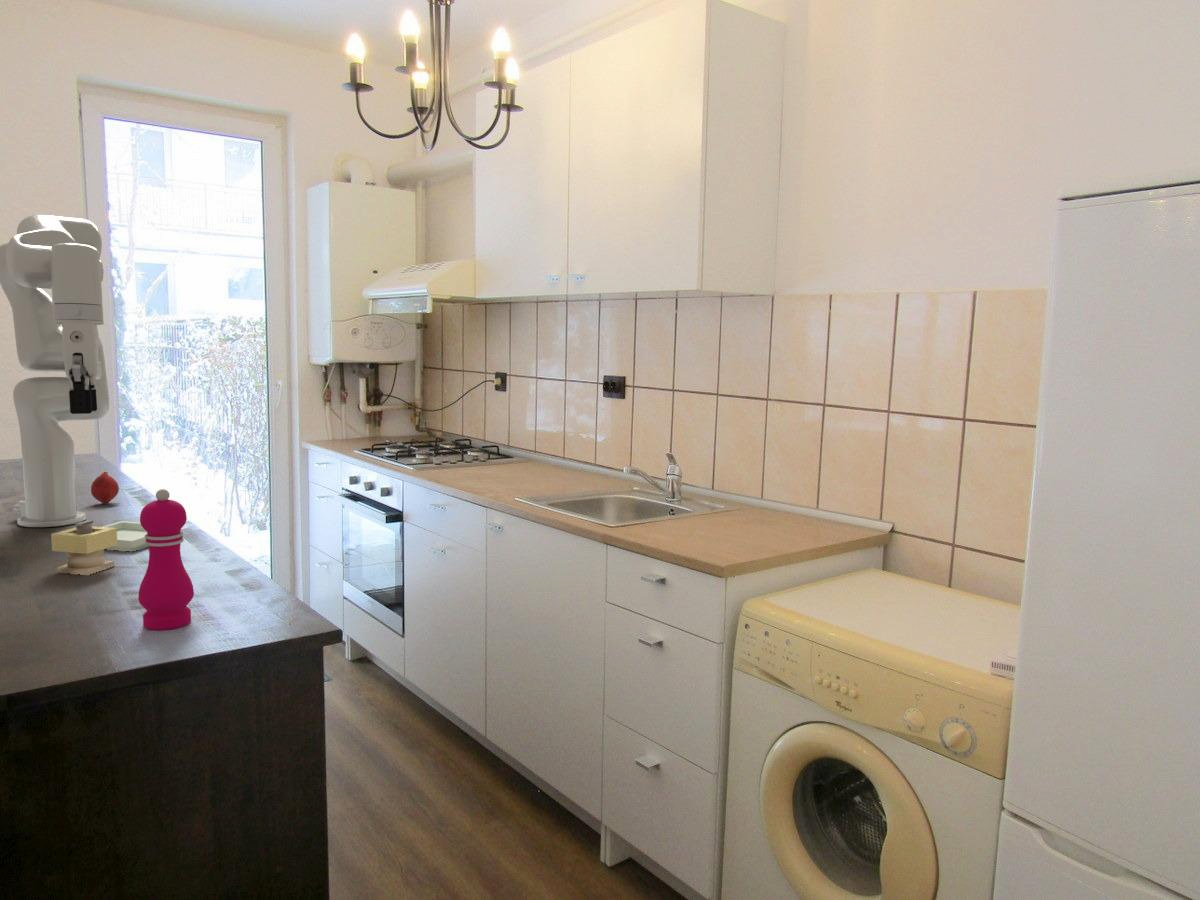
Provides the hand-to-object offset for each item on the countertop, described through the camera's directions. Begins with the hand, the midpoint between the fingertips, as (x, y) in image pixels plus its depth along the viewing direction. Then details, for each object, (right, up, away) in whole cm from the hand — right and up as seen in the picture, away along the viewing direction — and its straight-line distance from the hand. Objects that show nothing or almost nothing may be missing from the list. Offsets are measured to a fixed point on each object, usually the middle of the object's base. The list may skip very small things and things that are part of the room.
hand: (84, 412), depth 150 cm
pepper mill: (+29, -32, -27) cm, 51 cm away
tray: (-3, -25, +19) cm, 32 cm away
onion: (-28, -20, +54) cm, 64 cm away
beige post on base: (+1, -28, -1) cm, 28 cm away
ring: (+1, -24, -2) cm, 24 cm away
